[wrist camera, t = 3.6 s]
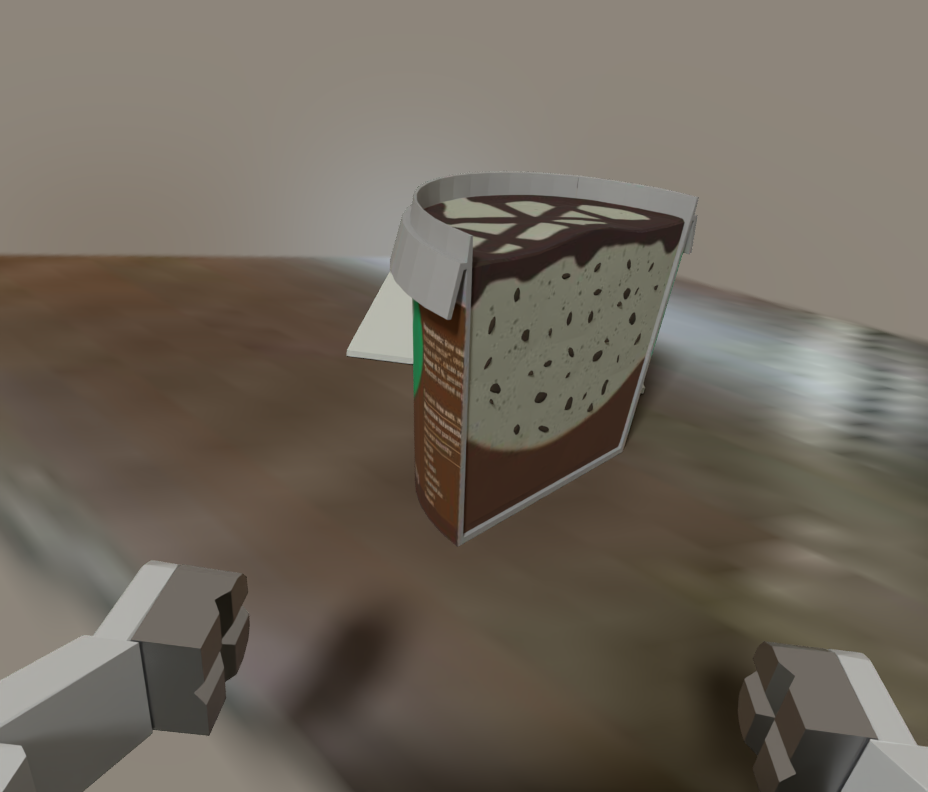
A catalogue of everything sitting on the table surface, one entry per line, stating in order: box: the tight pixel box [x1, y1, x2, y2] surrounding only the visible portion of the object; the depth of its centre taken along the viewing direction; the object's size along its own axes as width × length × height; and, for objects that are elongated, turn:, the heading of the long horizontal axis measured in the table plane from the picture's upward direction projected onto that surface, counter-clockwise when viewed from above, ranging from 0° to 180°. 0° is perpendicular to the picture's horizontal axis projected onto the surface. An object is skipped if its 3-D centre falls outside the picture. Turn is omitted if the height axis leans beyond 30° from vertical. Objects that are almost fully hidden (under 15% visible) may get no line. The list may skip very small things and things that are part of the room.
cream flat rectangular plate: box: [347, 272, 645, 394], centre depth 39 cm, size 14×12×1 cm
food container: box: [390, 171, 699, 547], centre depth 25 cm, size 12×6×10 cm, turn 135°
